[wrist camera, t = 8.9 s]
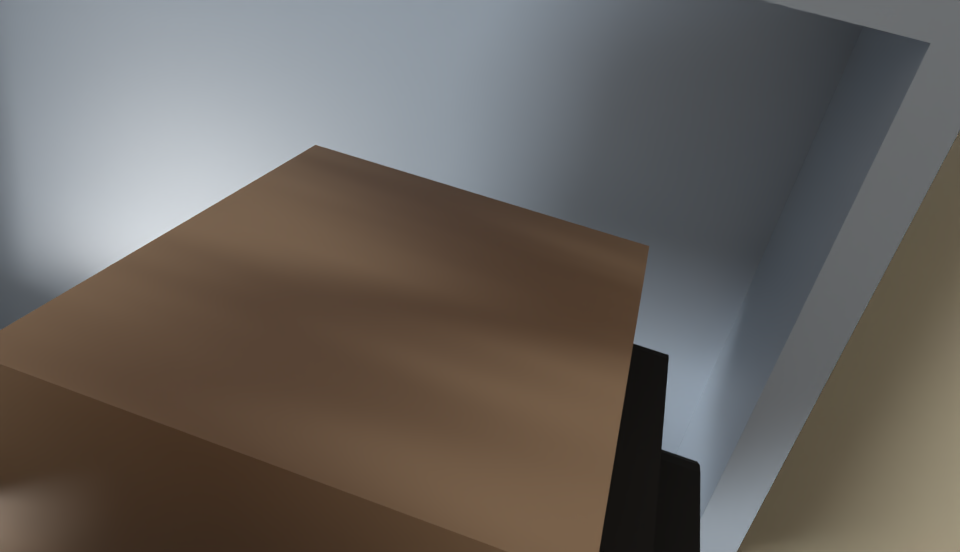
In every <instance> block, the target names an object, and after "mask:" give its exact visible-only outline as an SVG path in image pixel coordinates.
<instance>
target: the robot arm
mask: <svg viewBox="0 0 960 552" xmlns="http://www.w3.org/2000/svg"><path fill="white" fill-rule="evenodd" d="M668 362H669V355H667V354H664V353H661V352H658V351H655V350H652V349H649V348H646V347H643V346H640V345H637V344H633V348H632V355H631V361H630V367H629V373H628V379H627V385H626V391H625V397H624V403H623V409H622V415H621V421H620V427H619V433H618V439H617V446H616V452H615V458H614V464H613V470H612V476H611V482H610V488H609V494H608V500H607V506H606V512H605V518H604V524H603V530H602V536H601V543H600V549H599V552H700V479H701V472H700V465H699V463H698V462H697V461H694V460H691V459H688V458H686V457H683V456H680V455H677V454H674V453H671V452H668V451H665V450H662V438H663V425H664V413H665V400H666V388H667V375H668Z"/></svg>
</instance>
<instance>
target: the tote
mask: <svg viewBox="0 0 960 552" xmlns="http://www.w3.org/2000/svg"><path fill="white" fill-rule="evenodd" d="M959 131H960V0H0V330H1V329H3V328H5V327H6V326H8V325H10V324H12V323H13V322H15V321H17V320H18V319H20V318H22V317H23V316H25V315H27V314H29V313H30V312H32V311H34V310H35V309H37V308H39V307H40V306H42V305H44V304H46V303H47V302H49V301H51V300H52V299H54V298H56V297H57V296H59V295H61V294H63V293H64V292H66V291H68V290H69V289H71V288H73V287H74V286H76V285H78V284H80V283H81V282H83V281H85V280H86V279H88V278H90V277H91V276H93V275H95V274H97V273H98V272H100V271H102V270H103V269H105V268H107V267H108V266H110V265H112V264H114V263H115V262H117V261H119V260H120V259H122V258H124V257H126V256H127V255H129V254H131V253H132V252H134V251H136V250H137V249H139V248H141V247H143V246H144V245H146V244H148V243H149V242H151V241H153V240H154V239H156V238H158V237H160V236H161V235H163V234H165V233H166V232H168V231H170V230H171V229H173V228H175V227H177V226H178V225H180V224H182V223H183V222H185V221H187V220H188V219H190V218H192V217H194V216H195V215H197V214H199V213H200V212H202V211H204V210H205V209H207V208H209V207H211V206H212V205H214V204H216V203H217V202H219V201H221V200H222V199H224V198H226V197H228V196H229V195H231V194H233V193H234V192H236V191H238V190H239V189H241V188H243V187H245V186H246V185H248V184H250V183H251V182H253V181H255V180H256V179H258V178H260V177H262V176H263V175H265V174H267V173H268V172H270V171H272V170H274V169H275V168H277V167H279V166H280V165H282V164H284V163H285V162H287V161H289V160H291V159H292V158H294V157H296V156H297V155H299V154H301V153H302V152H304V151H306V150H308V149H309V148H311V147H313V146H314V145H318V146H321V147H325V148H328V149H331V150H335V151H338V152H341V153H344V154H348V155H351V156H354V157H358V158H361V159H364V160H368V161H371V162H374V163H377V164H381V165H384V166H387V167H391V168H394V169H397V170H400V171H404V172H407V173H410V174H414V175H417V176H420V177H423V178H427V179H430V180H433V181H437V182H440V183H443V184H447V185H450V186H453V187H456V188H460V189H463V190H466V191H470V192H473V193H476V194H479V195H483V196H486V197H489V198H493V199H496V200H499V201H503V202H506V203H509V204H512V205H516V206H519V207H522V208H526V209H529V210H532V211H535V212H539V213H542V214H545V215H549V216H552V217H555V218H558V219H562V220H565V221H568V222H572V223H575V224H578V225H582V226H585V227H588V228H591V229H595V230H598V231H601V232H605V233H608V234H611V235H614V236H618V237H621V238H624V239H628V240H631V241H634V242H638V243H641V244H644V245H647V246H649V251H648V258H647V264H646V270H645V276H644V282H643V288H642V294H641V300H640V306H639V312H638V318H637V324H636V330H635V336H634V342H633V344H637V345H640V346H643V347H646V348H649V349H652V350H655V351H658V352H661V353H664V354H667V355H669V362H668V375H667V388H666V400H665V413H664V425H663V438H662V450H665V451H668V452H671V453H674V454H677V455H680V456H683V457H686V458H688V459H691V460H694V461H697V462H698V463H699V465H700V472H701V479H700V552H737V550H738V548H739V546H740V544H741V543H742V541H743V539H744V537H745V535H746V533H747V531H748V529H749V528H750V526H751V524H752V522H753V520H754V518H755V516H756V514H757V512H758V511H759V509H760V507H761V505H762V503H763V501H764V499H765V497H766V495H767V494H768V492H769V490H770V488H771V486H772V484H773V482H774V480H775V478H776V477H777V475H778V473H779V471H780V469H781V467H782V465H783V463H784V461H785V460H786V458H787V456H788V454H789V452H790V450H791V448H792V446H793V444H794V443H795V441H796V439H797V437H798V435H799V433H800V431H801V429H802V427H803V426H804V424H805V422H806V420H807V418H808V416H809V414H810V412H811V410H812V409H813V407H814V405H815V403H816V401H817V399H818V397H819V395H820V393H821V392H822V390H823V388H824V386H825V384H826V382H827V380H828V378H829V376H830V375H831V373H832V371H833V369H834V367H835V365H836V363H837V361H838V359H839V358H840V356H841V354H842V352H843V350H844V348H845V346H846V344H847V342H848V341H849V339H850V337H851V335H852V333H853V331H854V329H855V327H856V325H857V324H858V322H859V320H860V318H861V316H862V314H863V312H864V310H865V308H866V307H867V305H868V303H869V301H870V299H871V297H872V295H873V293H874V291H875V290H876V288H877V286H878V284H879V282H880V280H881V278H882V276H883V274H884V273H885V271H886V269H887V267H888V265H889V263H890V261H891V259H892V258H893V256H894V254H895V252H896V250H897V248H898V246H899V244H900V242H901V241H902V239H903V237H904V235H905V233H906V231H907V229H908V227H909V225H910V224H911V222H912V220H913V218H914V216H915V214H916V212H917V210H918V208H919V207H920V205H921V203H922V201H923V199H924V197H925V195H926V193H927V191H928V190H929V188H930V186H931V184H932V182H933V180H934V178H935V176H936V174H937V173H938V171H939V169H940V167H941V165H942V163H943V161H944V159H945V157H946V156H947V154H948V152H949V150H950V148H951V146H952V144H953V142H954V140H955V139H956V137H957V135H958V133H959Z"/></svg>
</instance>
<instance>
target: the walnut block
mask: <svg viewBox="0 0 960 552" xmlns="http://www.w3.org/2000/svg"><path fill="white" fill-rule="evenodd" d="M648 251H649V246H647V245H644V244H641V243H638V242H634V241H631V240H628V239H624V238H621V237H618V236H614V235H611V234H608V233H605V232H601V231H598V230H595V229H591V228H588V227H585V226H582V225H578V224H575V223H572V222H568V221H565V220H562V219H558V218H555V217H552V216H549V215H545V214H542V213H539V212H535V211H532V210H529V209H526V208H522V207H519V206H516V205H512V204H509V203H506V202H503V201H499V200H496V199H493V198H489V197H486V196H483V195H479V194H476V193H473V192H470V191H466V190H463V189H460V188H456V187H453V186H450V185H447V184H443V183H440V182H437V181H433V180H430V179H427V178H423V177H420V176H417V175H414V174H410V173H407V172H404V171H400V170H397V169H394V168H391V167H387V166H384V165H381V164H377V163H374V162H371V161H368V160H364V159H361V158H358V157H354V156H351V155H348V154H344V153H341V152H338V151H335V150H331V149H328V148H325V147H321V146H318V145H314V146H313V147H311V148H309V149H308V150H306V151H304V152H302V153H301V154H299V155H297V156H296V157H294V158H292V159H291V160H289V161H287V162H285V163H284V164H282V165H280V166H279V167H277V168H275V169H274V170H272V171H270V172H268V173H267V174H265V175H263V176H262V177H260V178H258V179H256V180H255V181H253V182H251V183H250V184H248V185H246V186H245V187H243V188H241V189H239V190H238V191H236V192H234V193H233V194H231V195H229V196H228V197H226V198H224V199H222V200H221V201H219V202H217V203H216V204H214V205H212V206H211V207H209V208H207V209H205V210H204V211H202V212H200V213H199V214H197V215H195V216H194V217H192V218H190V219H188V220H187V221H185V222H183V223H182V224H180V225H178V226H177V227H175V228H173V229H171V230H170V231H168V232H166V233H165V234H163V235H161V236H160V237H158V238H156V239H154V240H153V241H151V242H149V243H148V244H146V245H144V246H143V247H141V248H139V249H137V250H136V251H134V252H132V253H131V254H129V255H127V256H126V257H124V258H122V259H120V260H119V261H117V262H115V263H114V264H112V265H110V266H108V267H107V268H105V269H103V270H102V271H100V272H98V273H97V274H95V275H93V276H91V277H90V278H88V279H86V280H85V281H83V282H81V283H80V284H78V285H76V286H74V287H73V288H71V289H69V290H68V291H66V292H64V293H63V294H61V295H59V296H57V297H56V298H54V299H52V300H51V301H49V302H47V303H46V304H44V305H42V306H40V307H39V308H37V309H35V310H34V311H32V312H30V313H29V314H27V315H25V316H23V317H22V318H20V319H18V320H17V321H15V322H13V323H12V324H10V325H8V326H6V327H5V328H3V329H1V330H0V552H599V549H600V543H601V536H602V530H603V524H604V518H605V512H606V506H607V500H608V494H609V488H610V482H611V476H612V470H613V464H614V458H615V452H616V446H617V439H618V433H619V427H620V421H621V415H622V409H623V403H624V397H625V391H626V385H627V379H628V373H629V367H630V361H631V355H632V348H633V342H634V336H635V330H636V324H637V318H638V312H639V306H640V300H641V294H642V288H643V282H644V276H645V270H646V264H647V258H648Z"/></svg>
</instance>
